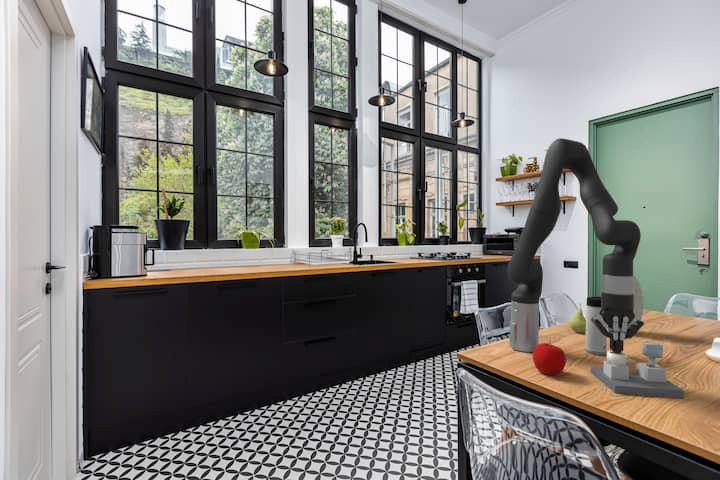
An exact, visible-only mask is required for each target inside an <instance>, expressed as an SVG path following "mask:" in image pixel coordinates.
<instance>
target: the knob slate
mask: <svg viewBox="0 0 720 480" xmlns="http://www.w3.org/2000/svg"><path fill="white" fill-rule="evenodd" d="M641 349H642V350H641V352H642V353H641V354H642V355H643V356H645V357H647V358H648V363H649V367H652V368H655V364H656V359H662V358H663V357H664V346H663V345H662V344H660V343H657V342H650V341H649V342H646V341H645V342H642V345H641Z"/></svg>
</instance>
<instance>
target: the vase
mask: <svg viewBox="0 0 720 480" xmlns="http://www.w3.org/2000/svg"><path fill="white" fill-rule="evenodd" d="M633 280H634V309H633V312H634V314H635V317H636V318H637V319H638V320H640V321H642V319H643V315H644V303H645V302H644V294H643V290H642V286H641V284H640V281H639V280H638V279H637V277H636V276H635V274H634V273H633ZM630 325H631V323H630V324H629V325H628V326H627V328H628V327H629V326H630Z"/></svg>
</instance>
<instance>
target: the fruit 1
mask: <svg viewBox="0 0 720 480" xmlns="http://www.w3.org/2000/svg"><path fill="white" fill-rule="evenodd" d="M551 342H552V340H551V339H549V343H547V342H543V343H542V342H541V343H539V345H537V346H536V347H535V349H534V351H533V352H532V360H533V364H534V366H535V368H536V369H537V370H538V372H539V371H540V372H541V373H542V374H545V375H549V376H557V375H559V374H561V373H562V372H563V371H564V369H565V367H566V363H567V357H566V354H565V352H564V349H562V348H561V347H560V346H557V345H553V344H551Z"/></svg>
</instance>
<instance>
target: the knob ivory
mask: <svg viewBox="0 0 720 480" xmlns="http://www.w3.org/2000/svg"><path fill="white" fill-rule="evenodd" d="M626 355H627V354H626V353H624V352H621V354H619V353H614V352H612V350H607V354H606V361H607V363H608V364H610V365H613V366H618V367H625V366H626Z"/></svg>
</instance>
